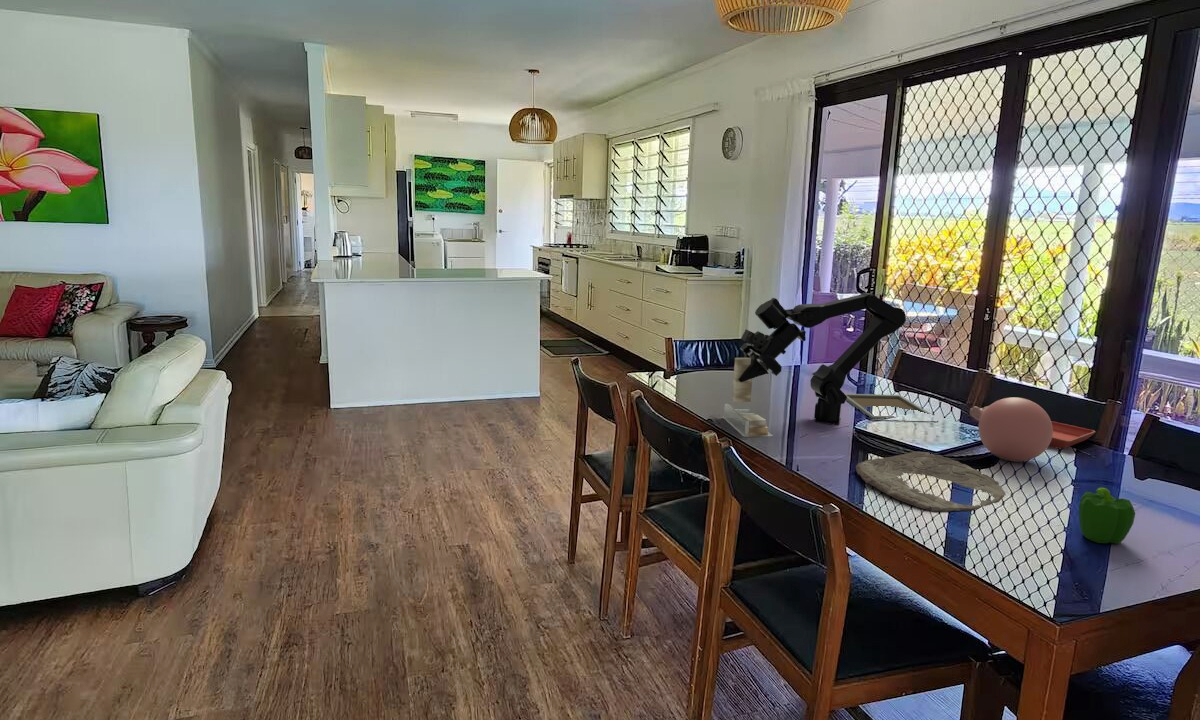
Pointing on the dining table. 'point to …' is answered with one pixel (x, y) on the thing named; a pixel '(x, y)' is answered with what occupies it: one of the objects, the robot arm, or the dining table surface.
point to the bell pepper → (1105, 517)
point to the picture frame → (880, 402)
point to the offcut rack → (739, 420)
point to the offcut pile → (756, 424)
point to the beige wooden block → (741, 388)
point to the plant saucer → (1068, 435)
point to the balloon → (1014, 428)
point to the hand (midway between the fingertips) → (737, 379)
